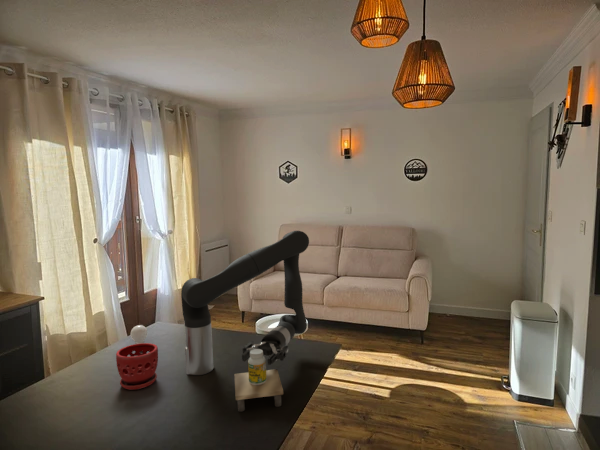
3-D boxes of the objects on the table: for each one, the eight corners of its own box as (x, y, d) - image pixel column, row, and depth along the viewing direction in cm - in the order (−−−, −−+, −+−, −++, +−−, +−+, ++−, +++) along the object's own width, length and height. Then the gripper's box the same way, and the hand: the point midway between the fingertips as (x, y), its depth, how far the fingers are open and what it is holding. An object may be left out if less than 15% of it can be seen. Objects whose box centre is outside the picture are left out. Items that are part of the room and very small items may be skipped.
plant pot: (163, 385, 134) (161, 351, 132) (121, 397, 127) (118, 361, 126) (155, 370, 145) (153, 338, 144) (116, 380, 138) (113, 347, 137)
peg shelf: (236, 413, 116) (235, 396, 116) (235, 389, 130) (234, 373, 129) (283, 407, 119) (283, 390, 118) (277, 384, 133) (277, 369, 132)
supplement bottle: (269, 378, 126) (268, 348, 125) (262, 387, 121) (261, 356, 120) (253, 376, 127) (252, 346, 126) (245, 384, 122) (244, 354, 121)
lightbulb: (138, 356, 157) (136, 329, 156) (128, 353, 160) (126, 326, 159) (152, 350, 162) (150, 324, 161) (142, 347, 166) (140, 321, 165)
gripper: (257, 327, 140) (234, 346, 125) (295, 331, 135) (276, 351, 120) (258, 348, 141) (235, 368, 125) (295, 353, 136) (277, 375, 121)
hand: (255, 360), depth 123 cm, fingers open, 8 cm apart
